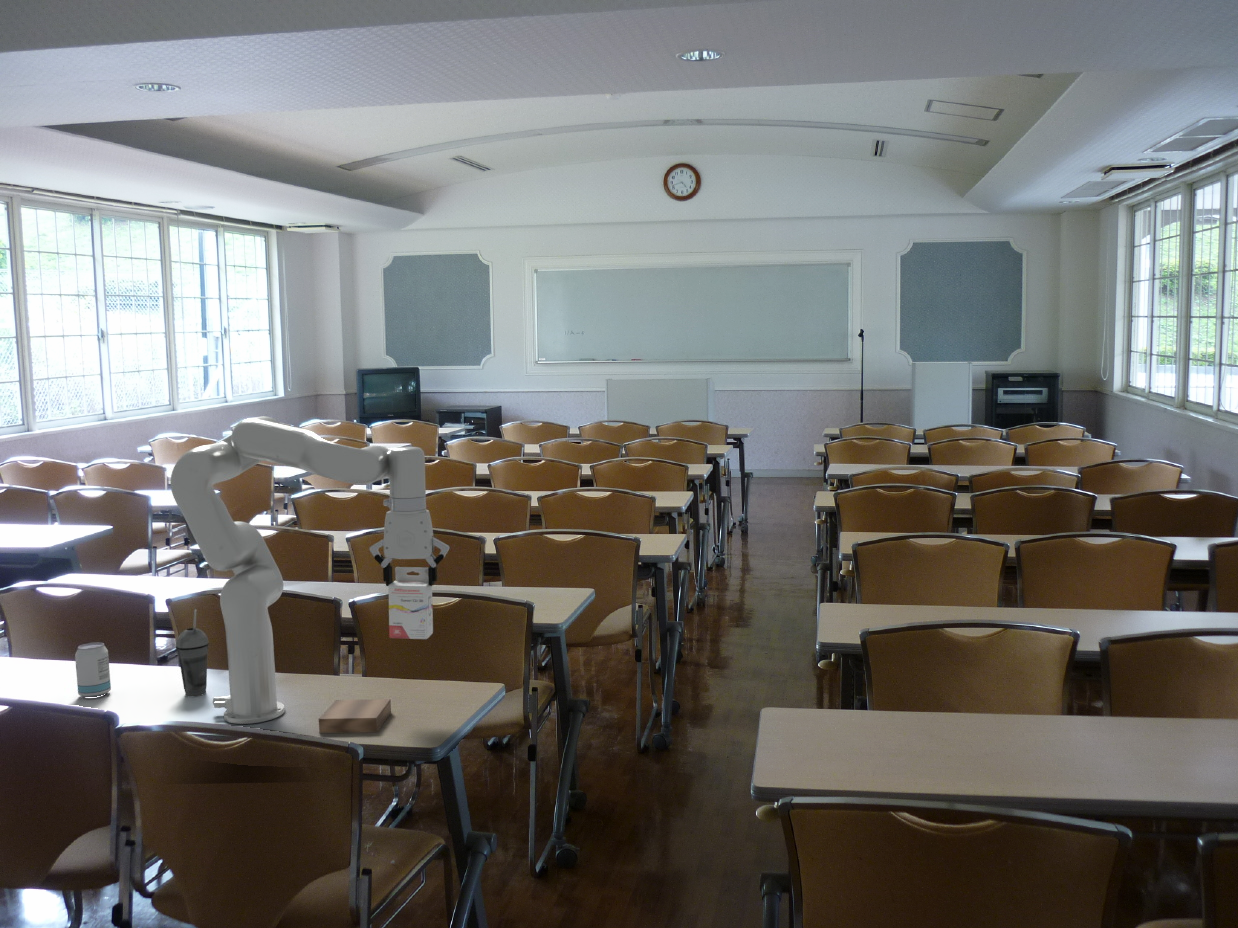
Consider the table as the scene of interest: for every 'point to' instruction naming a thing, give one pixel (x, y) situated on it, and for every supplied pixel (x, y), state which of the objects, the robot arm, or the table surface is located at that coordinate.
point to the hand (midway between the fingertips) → (410, 584)
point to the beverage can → (92, 670)
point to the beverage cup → (193, 659)
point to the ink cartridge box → (410, 604)
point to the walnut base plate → (355, 716)
